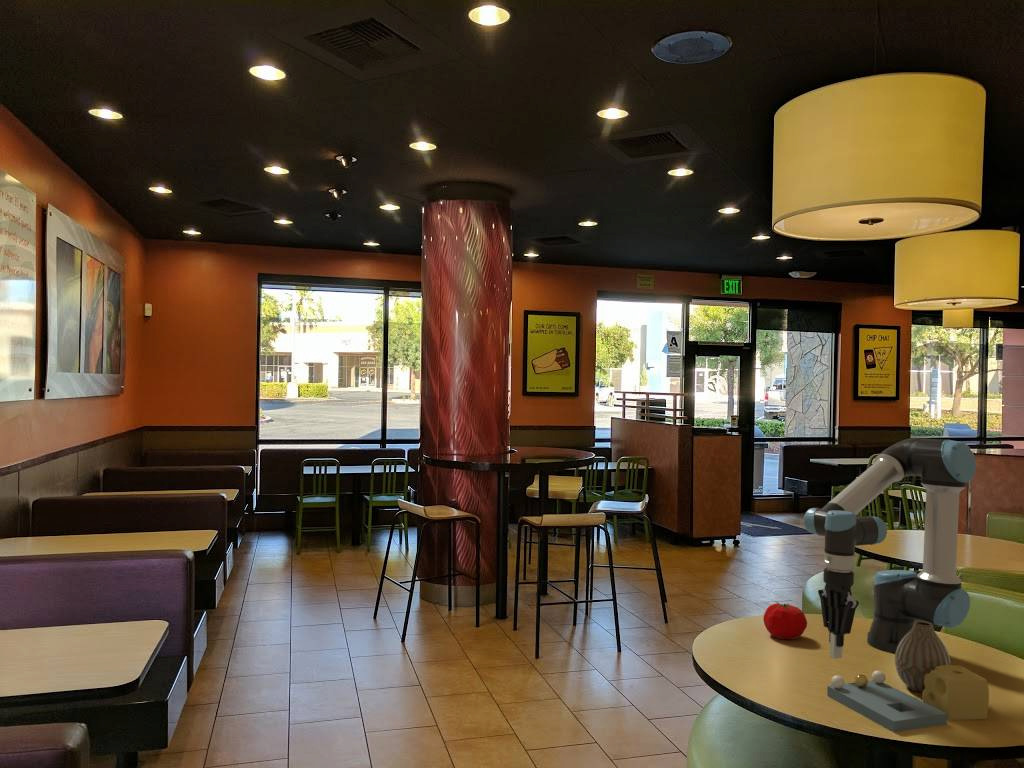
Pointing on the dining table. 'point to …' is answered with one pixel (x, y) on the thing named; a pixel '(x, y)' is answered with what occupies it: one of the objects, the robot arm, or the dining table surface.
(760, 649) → the dining table surface
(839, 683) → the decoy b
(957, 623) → the robot arm
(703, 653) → the dining table surface
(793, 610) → the tomato
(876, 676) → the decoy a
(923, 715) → the plate
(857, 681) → the ball
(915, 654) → the vase
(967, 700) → the cheese
